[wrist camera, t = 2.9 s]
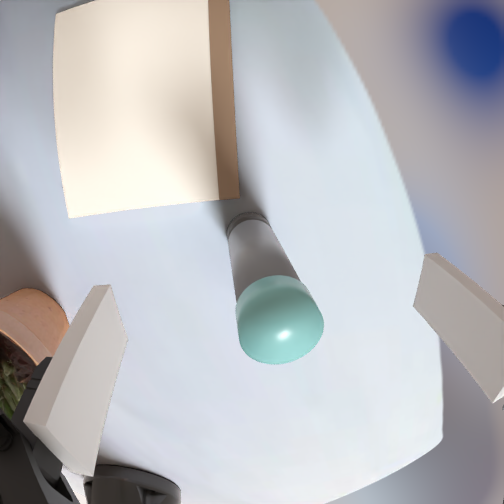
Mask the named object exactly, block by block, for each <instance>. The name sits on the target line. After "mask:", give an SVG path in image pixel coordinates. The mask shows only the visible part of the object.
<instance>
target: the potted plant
mask: <svg viewBox="0 0 504 504" xmlns="http://www.w3.org/2000/svg"><path fill="white" fill-rule="evenodd" d="M68 328H69V323H68V321H67V318H66V315H65V312H64V311H63V309H62V308H61V307H60V306H59V305H58V304H57V302H56V301H55V300H53V299H52V298H51V297H49V296H48V295H47V294H45V293H43V292H42V291H40V290H36V289H33V288H23V289H21V290H18V291H16V292H14V293H12V294H10V295H9V296H7V297H4V298H2V299H0V408H1V409H2V410H3V411H4V413H5V414H6V415H7V416H8V417H9V419H10V420H11V418H12V416H13V413H14V411H15V409H16V407H17V405H18V402H19V400H20V398H21V396H22V394H23V392H24V390H25V389H26V386H27V384H28V382H29V380H31V376H32V374H33V372H34V370H35V368H36V366H37V365H38V364H39V363H40V362H41V361H42V360H43V359H44V358H45V357H53V356H54V354H55V352H56V350H57V348H58V346H59V344H60V343H61V341H62V339H63V337H64V335H65V333H66V332H67V330H68Z"/></svg>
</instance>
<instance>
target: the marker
mask: <svg viewBox="0 0 504 504" xmlns="http://www.w3.org/2000/svg"><path fill="white" fill-rule="evenodd" d="M227 239H228V246H229V253H230V260H231V267H232V274H233V281H234V288H235V295H236V302H237V304H236V320H237V327H238V334H239V341H240V345H241V347H242V349H243V351H244V352H245V353H246V354H247V355H248V356H249V357H251V358H252V359H254V360H256V361H258V362H261V363H266V364H283V363H288V362H291V361H294V360H297V359H299V358H301V357H302V356H304V355H306V354H307V353H308V352H310V351H311V350H312V349H313V348H314V347H315V345H316V344H317V343H318V341H319V340H320V338H321V336H322V333H323V328H324V322H323V317H322V314H321V312H320V311H319V309H318V307H317V305H316V303H315V301H314V300H313V298H312V296H311V294H310V292H309V290H308V289H307V288H306V286H305V285H304V284H303V283H302V282H301V281H300V279H299V277H298V276H297V274H296V272H295V270H294V268H293V266H292V265H291V263H290V261H289V259H288V257H287V255H286V254H285V252H284V250H283V248H282V246H281V244H280V243H279V241H278V239H277V237H276V235H275V234H274V232H273V230H272V228H271V226H270V225H269V223H268V221H267V220H266V219H265V218H264V217H263V216H261V215H259V214H257V213H252V212H248V213H243V214H240V215H238V216H237V217H235V218H234V219H233V220H232V221H231V223H230V224H229V227H228V230H227Z"/></svg>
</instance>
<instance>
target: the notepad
mask: <svg viewBox="0 0 504 504" xmlns="http://www.w3.org/2000/svg"><path fill="white" fill-rule="evenodd" d="M53 100H54V117H55V130H56V140H57V149H58V158H59V165H60V172H61V178H62V184H63V190H64V196H65V201H66V206H67V211H68V216H69V218H76V217H82V216H89V215H95V214H102V213H109V212H116V211H124V210H132V209H139V208H147V207H156V206H164V205H173V204H183V203H192V202H202V201H213V200H226V199H238V198H240V193H239V177H238V160H237V143H236V125H235V107H234V88H233V69H232V49H231V28H230V7H229V0H95V1H92V2H89V3H86V4H83V5H80V6H77V7H74V8H71V9H68V10H65V11H63V12H60V13H57V14H56V18H55V29H54V46H53Z"/></svg>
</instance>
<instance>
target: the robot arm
mask: <svg viewBox="0 0 504 504" xmlns="http://www.w3.org/2000/svg"><path fill="white" fill-rule="evenodd" d="M413 307H414V308H415V309H416V310H417V311H418V312H419V313H420V315H421V316H422V317H423V318H424V319H425V320H426V321H427V323H428V324H429V325H430V326H431V327H432V328H433V329H434V331H435V332H436V333H437V334H438V335H439V336H440V338H441V339H442V340H443V341H444V342H445V343H446V345H447V346H448V347H449V348H450V349H451V351H452V352H453V353H454V354H455V355H456V357H457V358H458V359H459V361H460V362H461V363H462V364H463V365H464V367H465V368H466V369H467V370H468V372H469V373H470V374H471V376H472V377H473V378H474V380H475V381H476V382H477V383H478V385H479V386H480V387H481V389H482V390H483V391H484V393H485V394H486V395H487V397H488V398H489V399H490V401H491V402H492V403H493V402H495V401H497V400H498V399H500V398H502V397H503V396H504V305H502V304H500V303H499V302H498V301H497V300H496V299H494V298H493V297H492V296H491V295H490V294H489V293H487V292H486V291H485V290H484V289H483V288H481V287H480V286H479V285H478V284H477V283H475V282H474V281H473V280H472V279H470V278H469V277H468V276H467V275H465V274H464V273H463V272H462V271H460V270H459V269H458V268H457V267H455V266H454V265H453V264H451V263H450V262H449V261H447V260H446V259H445V258H444V257H442V256H441V255H440V254H438V253H431V254H425V256H424V261H423V266H422V271H421V275H420V280H419V284H418V288H417V293H416V297H415V301H414V304H413ZM127 342H128V337H127V334H126V332H125V329H124V326H123V323H122V320H121V317H120V314H119V311H118V307H117V304H116V301H115V298H114V294H113V291H112V288H111V285H96V286H93V288H92V289H91V291H90V292H89V294H88V296H87V297H86V299H85V301H84V302H83V304H82V306H81V307H80V309H79V311H78V312H77V314H76V316H75V318H74V319H73V321H72V323H71V325H70V326H69V328H68V330H67V332H66V333H65V335H64V337H63V339H62V341H61V343H60V344H59V346H58V348H57V350H56V352H55V354H54V356H53V357H45V358H44V359H43V360H42V361H41V362H40V363H39V364H38V365H37V366H36V368H35V370H34V372H33V374H32V376H31V380H29V382H28V384H27V386H26V389H25V390H24V392H23V394H22V396H21V398H20V400H19V402H18V405H17V407H16V409H15V411H14V413H13V416H12V418H11V420H10V419H9V417H8V416H7V415H6V414H5V413H4V411H3V410H2V409H1V408H0V504H80V503H79V501H78V499H77V498H76V496H75V494H74V492H73V491H72V489H71V487H70V485H69V483H68V482H67V480H66V478H65V476H64V475H63V474H62V473H61V469H62V466H63V465H64V466H66V467H67V468H68V469H69V470H70V471H71V472H72V473H76V474H81V475H84V480H83V485H84V490H85V495H86V500H87V504H181V490H180V489H179V487H178V486H177V485H175V484H174V483H172V482H170V481H168V480H166V479H164V478H162V477H159V476H156V475H153V474H150V473H147V472H143V471H139V470H135V469H130V468H125V467H119V466H110V465H96V460H97V455H98V450H99V446H100V441H101V437H102V432H103V428H104V424H105V420H106V416H107V412H108V408H109V404H110V400H111V397H112V393H113V389H114V386H115V382H116V379H117V375H118V372H119V368H120V365H121V361H122V358H123V355H124V352H125V348H126V345H127ZM502 410H504V405H503V409H502ZM503 504H504V500H503Z"/></svg>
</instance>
